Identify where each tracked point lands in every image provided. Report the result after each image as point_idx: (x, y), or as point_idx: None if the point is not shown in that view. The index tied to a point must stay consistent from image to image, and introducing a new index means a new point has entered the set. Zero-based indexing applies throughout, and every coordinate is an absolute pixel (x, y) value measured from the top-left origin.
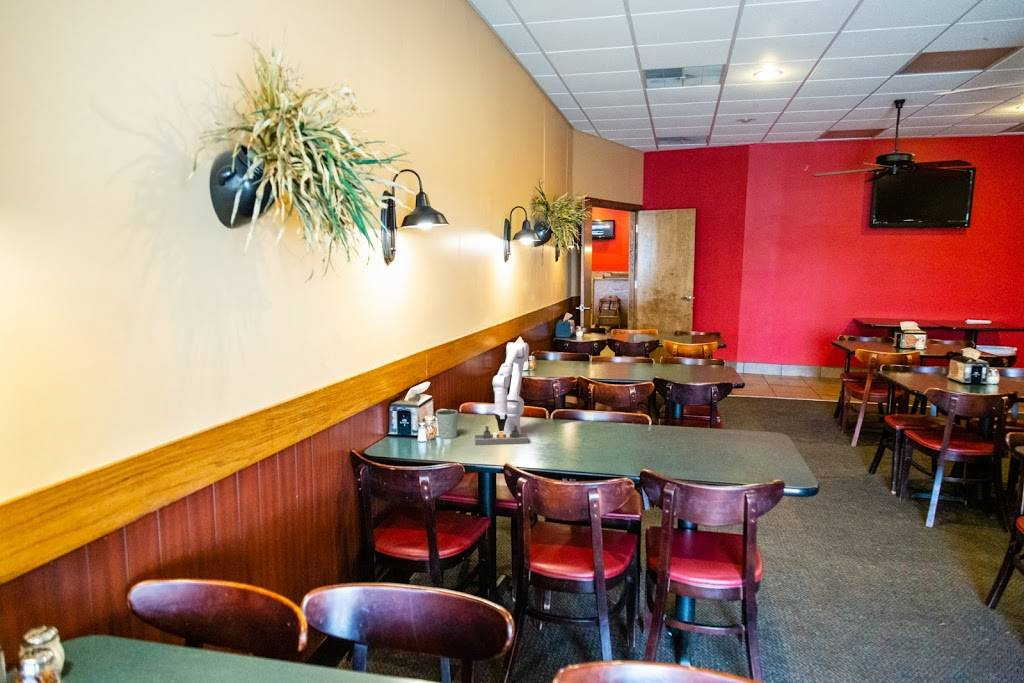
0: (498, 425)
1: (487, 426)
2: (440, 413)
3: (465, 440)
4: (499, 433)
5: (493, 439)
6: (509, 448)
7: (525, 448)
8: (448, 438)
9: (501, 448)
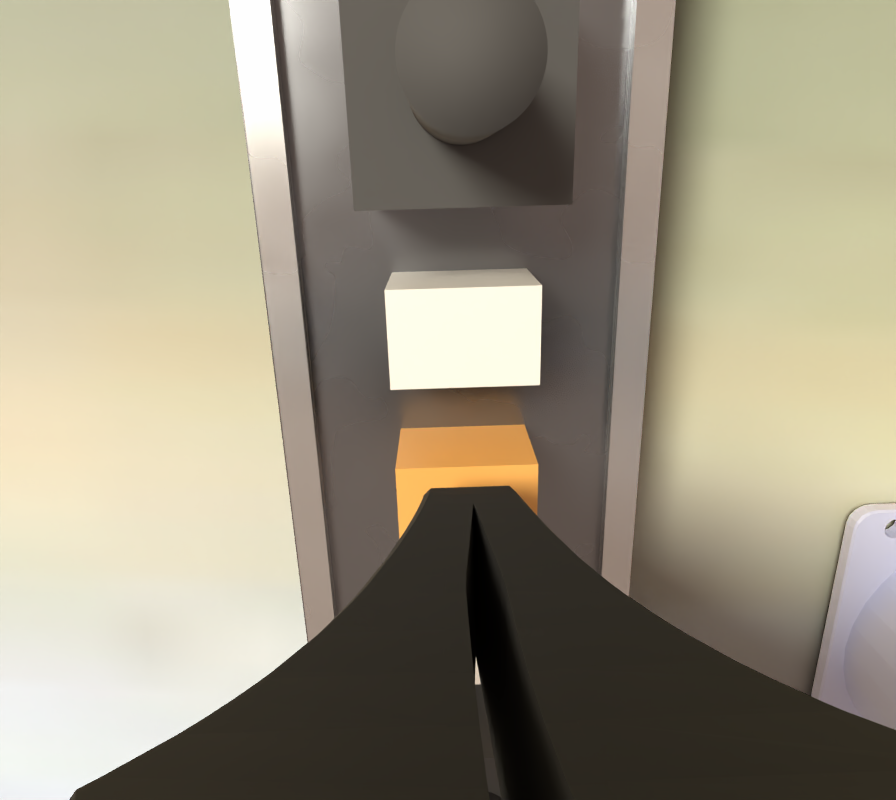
0: (375, 580)
1: (486, 82)
2: None
3: None
4: (477, 460)
5: (265, 276)
6: (67, 537)
7: (97, 752)
8: None
9: (49, 404)
